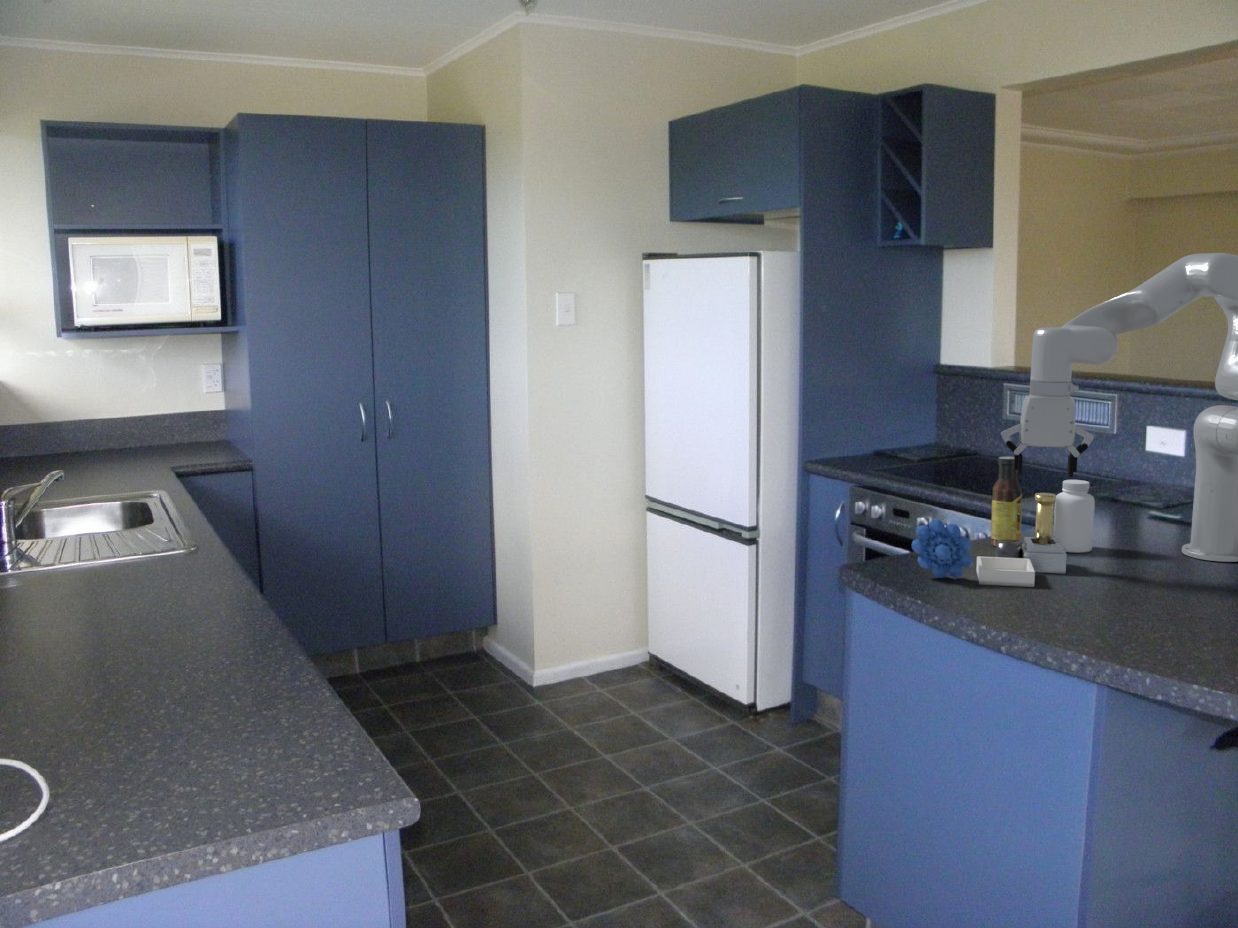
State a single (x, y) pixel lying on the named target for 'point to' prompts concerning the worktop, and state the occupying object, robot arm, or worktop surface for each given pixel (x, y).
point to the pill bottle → (1074, 517)
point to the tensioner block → (1035, 553)
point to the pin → (1044, 517)
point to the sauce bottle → (1006, 503)
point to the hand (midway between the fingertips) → (1044, 474)
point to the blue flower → (942, 549)
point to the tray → (1005, 571)
